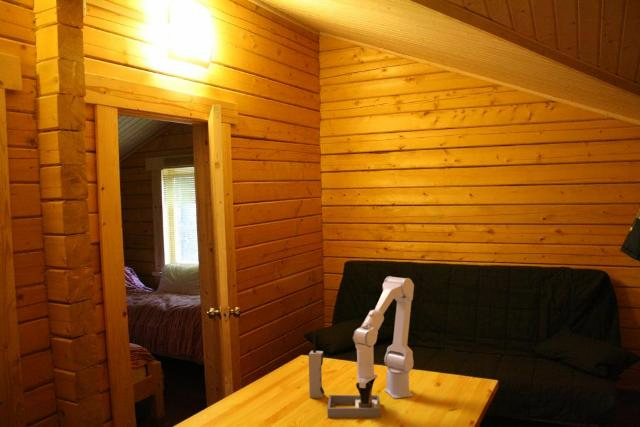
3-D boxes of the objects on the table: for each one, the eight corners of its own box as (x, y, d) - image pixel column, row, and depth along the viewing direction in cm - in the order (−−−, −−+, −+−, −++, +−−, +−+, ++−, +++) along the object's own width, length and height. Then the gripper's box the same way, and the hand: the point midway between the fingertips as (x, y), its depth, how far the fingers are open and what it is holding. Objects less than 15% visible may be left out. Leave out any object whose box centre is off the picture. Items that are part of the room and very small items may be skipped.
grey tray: (327, 417, 176) (327, 408, 176) (329, 403, 188) (329, 395, 188) (380, 417, 175) (380, 408, 175) (379, 403, 187) (378, 395, 187)
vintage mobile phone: (322, 398, 193) (321, 331, 192) (309, 397, 194) (307, 331, 193) (324, 394, 197) (323, 329, 196) (311, 394, 198) (310, 328, 197)
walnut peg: (358, 406, 182) (357, 383, 182) (367, 403, 184) (366, 381, 184) (364, 410, 179) (364, 387, 178) (374, 407, 181) (373, 384, 180)
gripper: (373, 370, 173) (374, 410, 173) (379, 356, 187) (380, 394, 187) (353, 368, 175) (353, 408, 175) (360, 355, 189) (361, 392, 189)
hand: (366, 401), depth 181 cm, fingers closed on walnut peg, 4 cm apart
